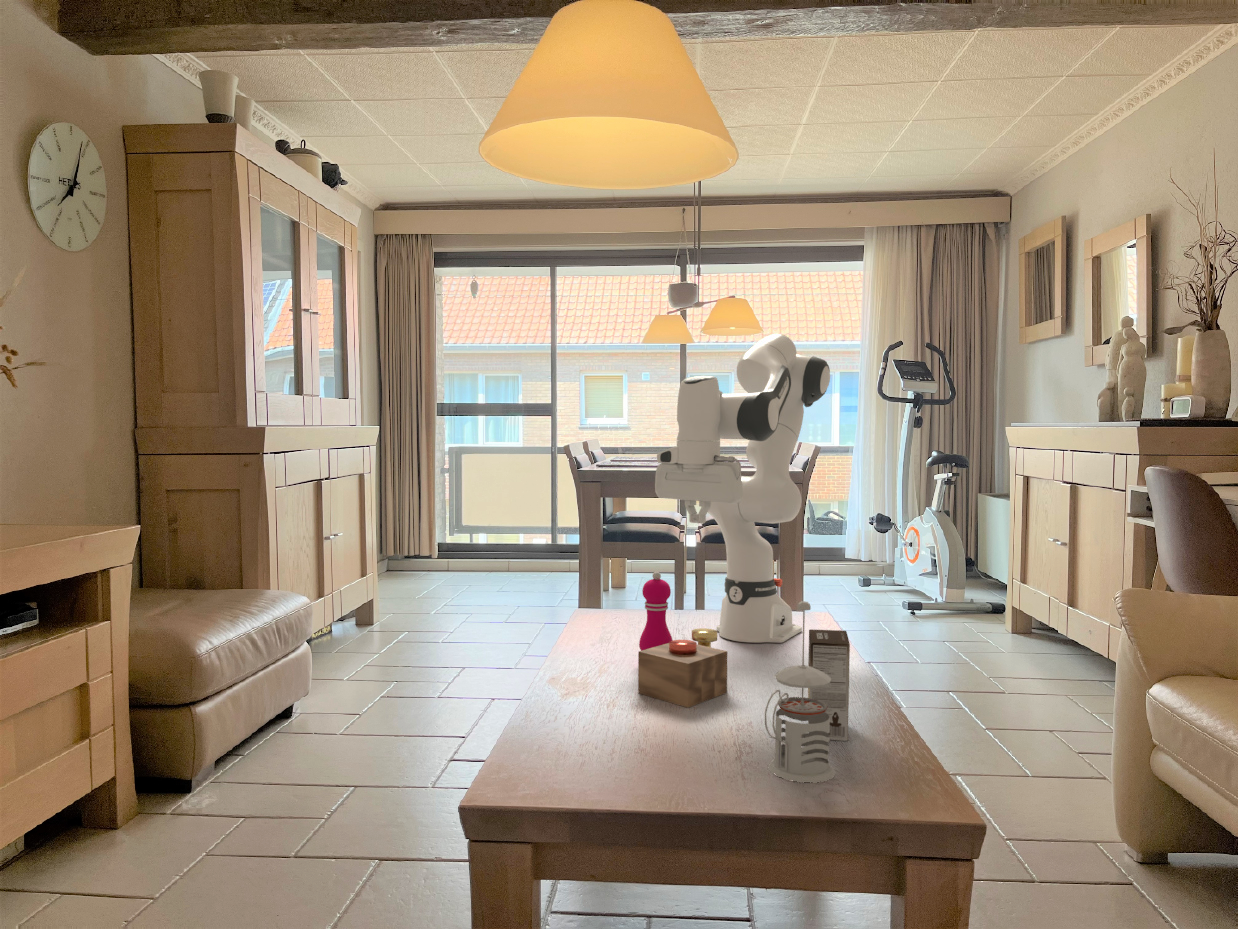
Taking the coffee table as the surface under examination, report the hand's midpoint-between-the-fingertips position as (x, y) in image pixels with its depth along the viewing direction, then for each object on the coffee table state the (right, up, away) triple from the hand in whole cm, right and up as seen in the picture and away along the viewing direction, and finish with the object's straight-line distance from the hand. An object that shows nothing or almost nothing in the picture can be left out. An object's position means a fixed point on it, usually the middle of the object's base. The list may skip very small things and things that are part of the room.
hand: (697, 522), depth 171 cm
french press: (+10, -33, -48) cm, 59 cm away
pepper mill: (-8, -31, +7) cm, 33 cm away
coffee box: (+19, -33, -31) cm, 49 cm away
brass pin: (+1, -31, 0) cm, 31 cm away
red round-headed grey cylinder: (-4, -31, -12) cm, 33 cm away
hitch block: (-4, -32, -12) cm, 34 cm away
